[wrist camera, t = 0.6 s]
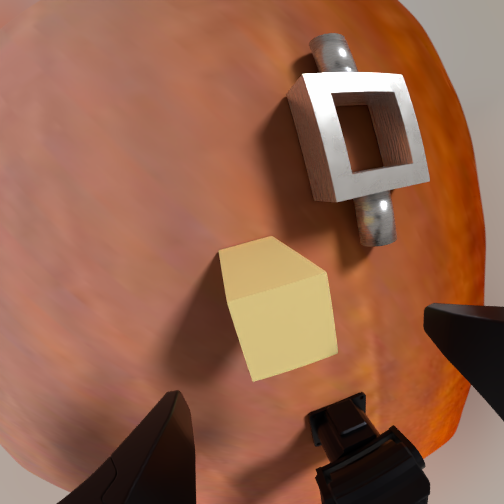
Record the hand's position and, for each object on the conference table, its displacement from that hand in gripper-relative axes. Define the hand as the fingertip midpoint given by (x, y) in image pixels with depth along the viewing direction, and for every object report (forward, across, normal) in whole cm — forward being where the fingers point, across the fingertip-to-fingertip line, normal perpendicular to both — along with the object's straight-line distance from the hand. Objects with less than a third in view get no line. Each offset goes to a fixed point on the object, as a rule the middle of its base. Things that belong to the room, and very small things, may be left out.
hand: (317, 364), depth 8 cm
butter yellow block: (+13, 0, 0) cm, 13 cm away
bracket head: (+13, -10, -8) cm, 18 cm away
